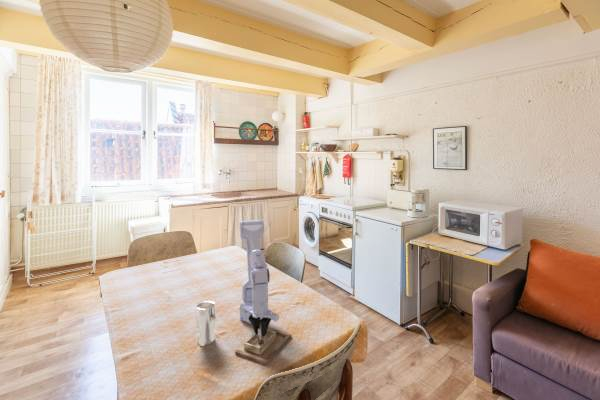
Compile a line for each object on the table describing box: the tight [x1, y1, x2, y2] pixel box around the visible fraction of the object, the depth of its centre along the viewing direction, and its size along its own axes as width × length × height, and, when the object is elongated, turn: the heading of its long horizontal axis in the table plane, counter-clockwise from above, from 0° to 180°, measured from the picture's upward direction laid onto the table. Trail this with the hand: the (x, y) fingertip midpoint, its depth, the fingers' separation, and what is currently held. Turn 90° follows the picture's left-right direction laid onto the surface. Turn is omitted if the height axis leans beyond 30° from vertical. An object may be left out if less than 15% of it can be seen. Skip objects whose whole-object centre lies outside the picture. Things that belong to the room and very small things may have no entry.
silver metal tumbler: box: [195, 300, 217, 347], centre depth 112 cm, size 7×7×15 cm
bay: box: [234, 326, 292, 366], centre depth 110 cm, size 13×18×2 cm
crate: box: [243, 325, 277, 356], centre depth 110 cm, size 7×11×6 cm, turn 154°
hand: (260, 334), depth 110 cm, fingers closed on crate, 2 cm apart
